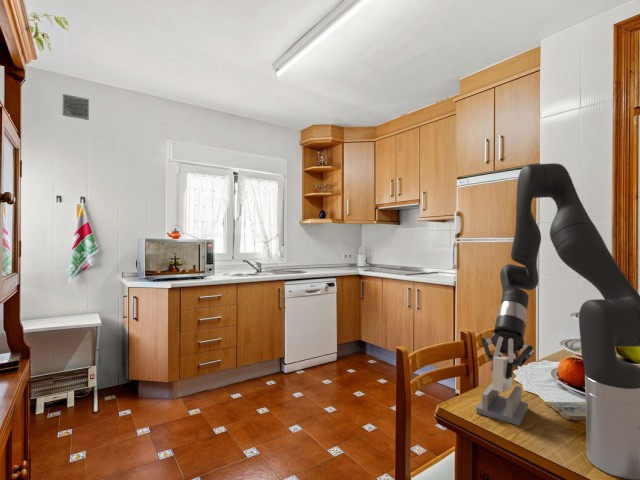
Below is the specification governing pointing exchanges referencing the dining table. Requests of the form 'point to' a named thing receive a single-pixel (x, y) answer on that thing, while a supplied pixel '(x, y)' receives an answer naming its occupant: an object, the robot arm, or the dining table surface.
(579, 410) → the ceramic fragment
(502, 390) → the cream rectangular slab
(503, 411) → the grey twin-fin stand
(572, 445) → the dining table surface
